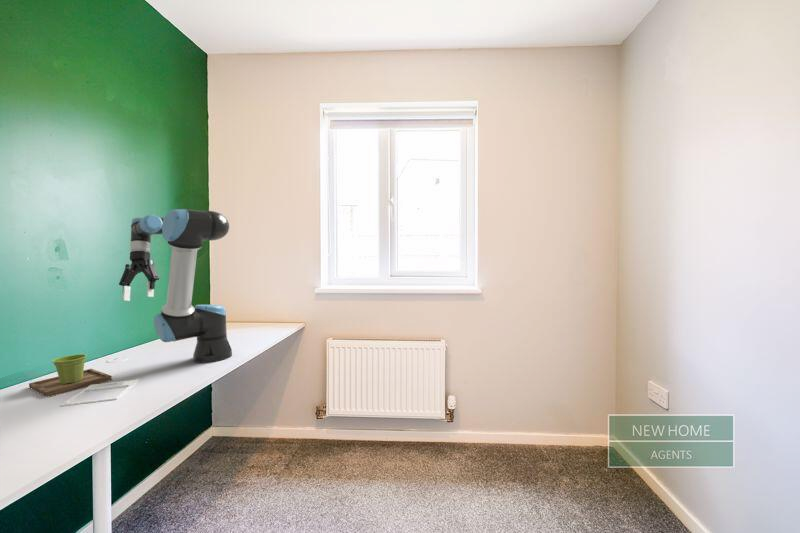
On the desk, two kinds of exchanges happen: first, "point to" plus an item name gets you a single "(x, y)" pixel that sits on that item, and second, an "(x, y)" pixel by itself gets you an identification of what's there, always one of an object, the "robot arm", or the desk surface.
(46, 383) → the walnut tray
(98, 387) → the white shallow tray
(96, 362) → the desk surface
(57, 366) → the plant pot
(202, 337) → the robot arm
